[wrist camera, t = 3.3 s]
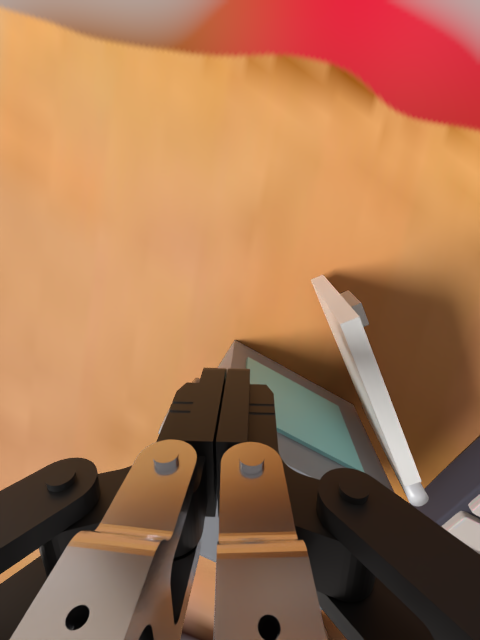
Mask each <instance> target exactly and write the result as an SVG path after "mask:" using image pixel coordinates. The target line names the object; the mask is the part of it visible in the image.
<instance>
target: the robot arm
mask: <svg viewBox="0 0 480 640" xmlns="http://www.w3.org/2000/svg"><path fill="white" fill-rule="evenodd" d="M217 500H218V517H219V540H218V542H217V557H216V586H215V615H214V640H329V639H328V633H327V631H326V629H325V627H324V624H323V620H322V615H321V611H320V607H321V608H322V610H323V611H324V612H325V613H326V614H327V616H328V617H329V618H330V619H331V620H332V622H333V623H334V624H335V625H336V627H337V628H338V629H339V630H340V631H341V633H342V634H343V635H344V636H345V637H346V639H347V640H480V554H479V553H477V552H476V551H475V550H473V549H472V548H470V547H469V546H468V545H466V544H465V543H463V542H462V541H461V540H459V539H458V538H456V537H455V536H454V535H452V534H451V533H450V532H448V531H447V530H445V529H444V528H443V527H441V526H440V525H438V524H437V523H436V522H434V521H433V520H431V519H430V518H429V517H427V516H426V515H425V514H423V513H422V512H420V511H419V510H418V509H416V508H415V507H413V506H412V505H411V504H409V503H408V502H406V501H405V500H404V499H402V498H401V497H400V496H398V495H397V494H395V493H394V492H393V491H391V490H390V489H388V488H387V487H386V486H384V485H383V484H381V483H380V482H379V481H377V480H376V479H375V478H373V477H371V476H370V475H368V474H366V473H364V472H362V471H359V470H356V469H351V468H336V469H333V470H330V471H328V472H326V473H325V474H324V475H323V476H322V477H321V479H320V480H319V479H315V478H312V477H309V476H306V475H303V474H300V473H298V472H296V471H294V470H293V469H291V468H290V467H289V466H288V465H286V464H285V462H284V461H283V460H282V458H281V457H280V454H279V450H278V439H277V427H276V415H275V403H274V393H273V392H272V391H271V390H270V388H269V387H268V386H267V385H266V384H250V369H236V368H228V370H227V369H226V368H204V369H203V372H202V375H201V378H200V382H199V383H186V384H185V385H183V386H182V387H181V388H180V389H179V390H178V391H177V392H176V394H175V397H174V399H173V403H172V404H171V407H170V409H169V412H168V414H167V417H166V419H165V422H164V424H163V427H162V429H161V432H160V434H159V437H158V439H157V442H156V443H153V444H151V445H149V446H148V447H146V448H145V449H144V450H142V451H141V453H140V454H139V455H138V457H137V458H136V460H135V462H134V464H133V465H132V466H130V467H127V468H124V469H120V470H115V471H111V472H106V473H101V474H98V473H97V469H96V466H95V465H94V463H92V462H91V461H89V460H87V459H84V458H68V459H64V460H60V461H57V462H54V463H52V464H50V465H48V466H46V467H44V468H42V469H41V470H39V471H37V472H35V473H33V474H31V475H29V476H28V477H26V478H24V479H22V480H20V481H18V482H16V483H14V484H13V485H11V486H9V487H7V488H5V489H3V490H1V491H0V574H1V573H3V572H4V571H6V570H7V569H9V568H10V567H12V566H13V565H14V564H16V563H17V562H19V561H20V560H22V559H23V558H25V557H26V556H28V555H29V554H31V553H32V552H33V551H35V550H36V549H38V548H39V551H40V554H41V556H40V557H38V558H37V559H35V560H34V561H33V562H31V563H30V564H28V565H27V566H25V567H24V568H23V569H21V570H20V571H18V572H17V573H15V574H14V575H13V576H11V577H10V578H8V579H7V580H5V581H4V582H3V583H1V584H0V640H180V636H181V631H182V627H183V623H184V619H185V614H186V610H187V606H188V601H189V597H190V593H191V589H192V584H193V580H194V576H195V572H196V567H197V563H198V559H199V555H200V550H201V537H202V533H203V528H204V521H205V517H215V515H216V508H217Z"/></svg>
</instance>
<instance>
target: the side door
mask: <svg viewBox="0 0 480 640" xmlns="http://www.w3.org/2000/svg"><path fill="white" fill-rule="evenodd" d="M311 282H312V284H313V287H314V289H315V292H316V294H317V297H318V299H319V301H320V304H321V306H322V309H323V311H324V314H325V316H326V319H327V321H328V323H329V326H330V328H331V331H332V333H333V336H334V338H335V341H336V343H337V345H338V348H339V350H340V353H341V355H342V358H343V360H344V363H345V365H346V367H347V370H348V372H349V375H350V377H351V380H352V382H353V385H354V387H355V389H356V392H357V394H358V397H359V399H360V401H361V402H362V404H363V406H364V408H365V410H366V412H367V414H368V416H369V418H370V420H371V422H372V424H373V426H374V428H375V430H376V432H377V434H378V436H379V437H380V439H381V441H382V443H383V445H384V447H385V449H386V451H387V453H388V455H389V457H390V459H391V461H392V463H393V465H394V467H395V469H396V471H397V473H398V474H399V476H400V478H401V480H402V482H403V484H404V486H409V485H412V484H415V483H419V482H422V481H421V479H420V476H419V473H418V471H417V468H416V465H415V463H414V460H413V457H412V455H411V452H410V449H409V447H408V444H407V442H406V439H405V436H404V434H403V431H402V428H401V426H400V423H399V420H398V418H397V415H396V412H395V410H394V407H393V404H392V402H391V399H390V396H389V394H388V391H387V388H386V386H385V383H384V380H383V378H382V375H381V372H380V370H379V367H378V365H377V362H376V359H375V357H374V354H373V351H372V349H371V346H370V343H369V341H368V338H367V335H366V333H365V330H364V326H367V325H369V322H368V320H367V317H366V314H365V311H364V309H363V306H362V303H361V302H360V301H359V300H358V299H357V298H356V297H355V296H354V295H353V294H352V293H351V292H350V291H349V290H347V291H345V292H343V293H340V294H339V292H338V291H337V290H336V289H335V288H334V287H333V286H332V284H331V283H330V282H329V281H328V280H327V279H326V277H325V276H324V275H321V276H318V277H316V278H314V279H311Z"/></svg>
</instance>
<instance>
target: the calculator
mask: <svg viewBox="0 0 480 640" xmlns="http://www.w3.org/2000/svg"><path fill="white" fill-rule="evenodd" d="M424 490H425V492H426V493H427V495H428V497H429V499H428V502H427V503H426V504H425V505H423V506H413V505H412V504H411V503H410V504H411V505H412V506H413V507H415V508H416V509H418V510H419V511H420V512H422V513H423V514H425V515H426V516H427V517H429V518H430V519H431V520H433V521H434V522H436V523H437V524H438V525H440V526H441V527H443V528H444V529H445V530H447V531H448V532H450V533H451V534H452V535H454V536H455V537H456V538H458V539H459V540H461V541H462V542H463V543H465V544H466V545H468V546H469V547H470V548H472V549H473V550H475V551H476V552H477V553H479V554H480V436H479V437H478V438H477V439H476V440H475V441H474V442H473V443H472V444H471V445H470V446H469V447H468V448H466V449H465V450H464V451H463V452H462V453H461V454H460V455H459V456H458V457H457V458H456V459H455V460H453V461H452V462H451V463H450V464H449V465H448V466H447V467H446V468H445V469H444V470H443V471H442V472H441V473H440V474H439V475H438V476H437V477H436V478H435V479H434V480H433V481H432V482H431V483H430V484H429V485H428V486H427V487H426V488H425V489H424Z"/></svg>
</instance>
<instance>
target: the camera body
mask: <svg viewBox="0 0 480 640" xmlns="http://www.w3.org/2000/svg"><path fill="white" fill-rule="evenodd" d="M218 368H226V369H227V370H228V368H236V369H250V384H266V385H267V386H268V387H269V388H270V390H271V391H272V392H273V393H274V403H275V415H276V427H277V439H278V450H279V454H280V457H281V458H282V460H283V461H284V462H285V464H286V465H288V466H289V467H290V468H291V469H293V470H294V471H296V472H298V473H300V474H303V475H306V476H309V477H312V478H315V479H319V480H320V479H321V477H322V476H323V475H324V474H325V473H326V472H328V471H330V470H333V469H336V468H351V469H356V470H359V471H362V472H364V473H366V474H368V475H370V476H371V477H373V478H375V479H376V480H377V481H379V482H380V483H381V484H383V485H384V486H386V487H387V488H388V489H390V490H391V491H393V489H392V487H391V484H390V482H389V480H388V478H387V476H386V474H385V472H384V469H383V467H382V465H381V463H380V461H379V459H378V457H377V454H376V452H375V450H374V448H373V446H372V444H371V442H370V440H369V437H368V435H367V433H366V431H365V429H364V427H363V425H362V422H361V420H360V418H359V416H358V414H357V412H356V410H355V407H354V405H353V404H351V403H349V402H347V401H345V400H344V399H342V398H340V397H338V396H336V395H335V394H333V393H331V392H329V391H327V390H325V389H324V388H322V387H320V386H318V385H316V384H314V383H313V382H311V381H309V380H307V379H305V378H304V377H302V376H300V375H298V374H296V373H294V372H293V371H291V370H289V369H287V368H285V367H283V366H282V365H280V364H278V363H276V362H274V361H273V360H271V359H269V358H267V357H265V356H263V355H262V354H260V353H258V352H256V351H254V350H252V349H251V348H249V347H247V346H245V345H243V344H242V343H240V342H238V341H236V340H234V342H233V344H232V345H231V347H230V348H229V350H228V352H227V353H226V355H225V356H224V358H223V360H222V361H221V363H220V364H219V366H218ZM199 382H200V379H199V378H195V379H194V381H193V382H192V383H199ZM362 408H363V410H364V412H365V414H366V416H367V418H368V420H369V422H370V424H371V426H372V428H373V430H374V432H375V434H376V436H377V438H378V440H379V442H380V444H381V446H382V448H383V450H384V452H385V454H386V456H387V458H388V460H389V462H390V464H391V466H392V468H393V470H394V472H395V474H396V476H397V478H398V480H399V482H400V484H401V486H402V488H403V490H404V492H405V494H406V496H407V498H408V500H409V502H410V503H411V504H412V505H413V506H423V505H425V504H426V503H427V502H428V499H429V497H428V495H427V493H426V492H425V490H424V488H423V486H422V485H421V483H420V482H419V483H415V484H412V485H409V486H404V484H403V482H402V480H401V478H400V476H399V474H398V473H397V471H396V469H395V467H394V465H393V463H392V461H391V459H390V457H389V455H388V453H387V451H386V449H385V447H384V445H383V443H382V441H381V439H380V437H379V436H378V434H377V432H376V430H375V428H374V426H373V424H372V422H371V420H370V418H369V416H368V414H367V412H366V410H365V408H364V406H363V404H362ZM168 412H169V411H168ZM167 414H168V413H167ZM166 417H167V415H166ZM166 417H165V419H166ZM165 419H164V421H163V423H162V425H161V427H160V430H159V433H158V434H160V432H161V429H162V427H163V424H164V422H165ZM393 492H394V491H393ZM218 540H219V517H218V500H217V508H216V515H215V517H205V521H204V528H203V533H202V537H201V550H200V555H201V556H203V557H205V558H207V559H210V560H212V561H214V562H216V557H217V542H218ZM320 609H321V610H322V608H321V607H320Z"/></svg>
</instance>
